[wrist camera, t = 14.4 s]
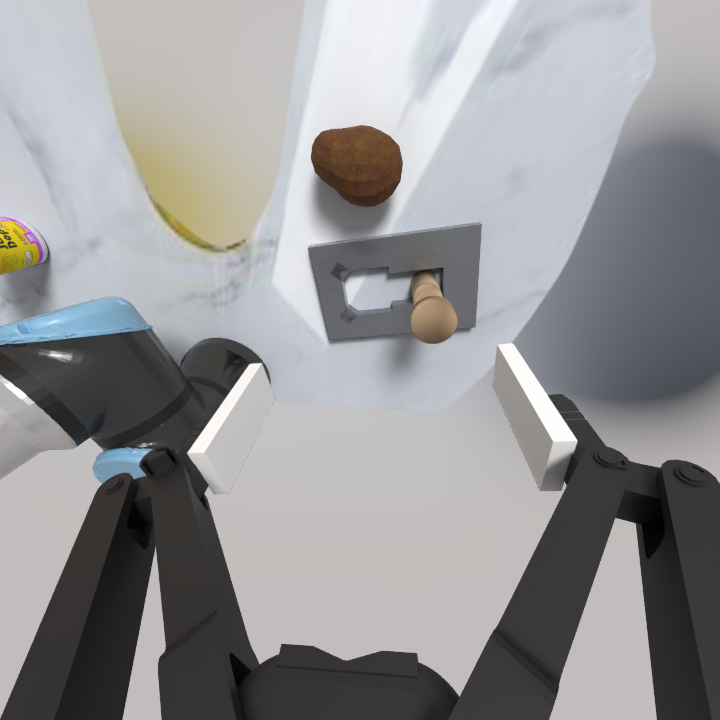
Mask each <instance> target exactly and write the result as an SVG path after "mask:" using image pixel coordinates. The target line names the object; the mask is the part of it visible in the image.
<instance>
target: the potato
mask: <svg viewBox="0 0 720 720" xmlns="http://www.w3.org/2000/svg"><path fill="white" fill-rule="evenodd" d="M311 160H312V163H313V166H314V169H315V173H316V174H317V175H318V176H320V177H321V178H322V179H323V180H324V181H325V182H326V183H327V184H329V185H330V186H331V187H333V188H334V189H336V190H337V191H338V193H339V194H340V195H341V196H342V197H343V198H344V199H346V200H347V201H349V202H350V203H351V204H355V205H359V206H375V205H377V204H380V203H382V202H384V201H385V200H386V199H387V198H388V197H390V196H391V195H392V194H393V192H394V191H395V189H396V187H397V186H398V184H399V183H400V180H401V172H402V164H403V162H402V157H401V152H400V148H399V145H398V144H397V143H396V142H395V141H394V140H393V139H392V138H391V137H390V136H389V135H387V134H385V133H383V132H382V131H380V130H378V129H375V128H373V127H371V126H363V125H360V126H355V127H350V128H343V129H330V130H326V131H323V132H321V133H320V134H319V135H318V136H317V137H316V139H315V141H314V143H313V145H312V153H311Z"/></svg>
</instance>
